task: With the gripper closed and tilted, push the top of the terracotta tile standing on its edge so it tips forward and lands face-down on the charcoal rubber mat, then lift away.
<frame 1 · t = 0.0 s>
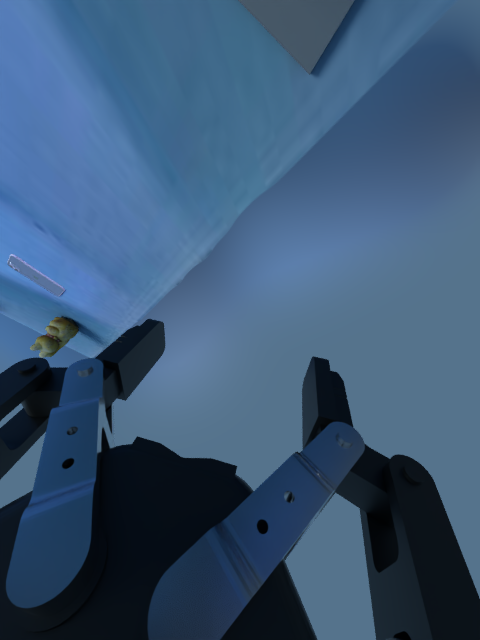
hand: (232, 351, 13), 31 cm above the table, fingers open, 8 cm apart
decorative figurine: (71, 321, 90), on the table
mobile phone: (38, 275, 71), on the table
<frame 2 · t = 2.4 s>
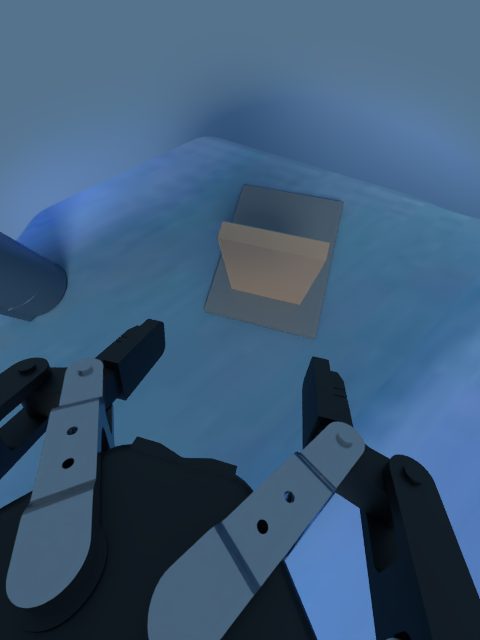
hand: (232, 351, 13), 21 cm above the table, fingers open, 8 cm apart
tile: (266, 290, 34), point 1 cm above the table, touching mat
mat: (275, 256, 36), on the table
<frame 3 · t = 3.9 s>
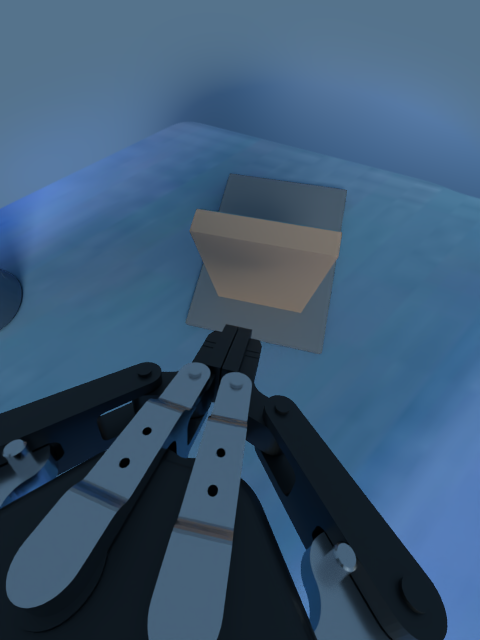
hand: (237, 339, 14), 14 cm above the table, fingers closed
tile: (260, 297, 28), point 1 cm above the table, touching mat
mat: (270, 256, 31), on the table
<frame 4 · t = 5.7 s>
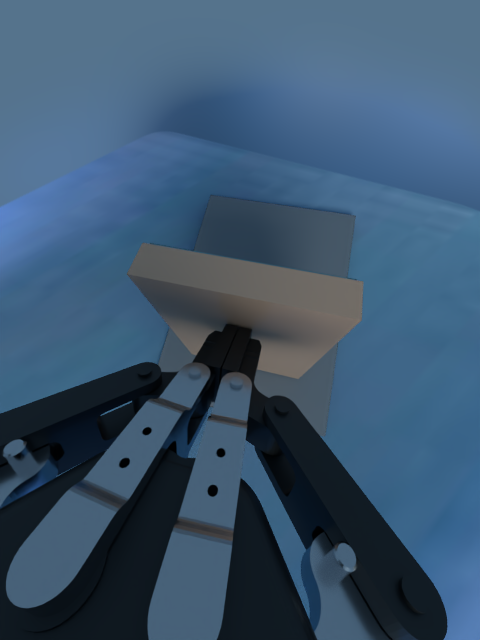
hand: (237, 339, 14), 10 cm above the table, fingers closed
tile: (245, 356, 22), point 1 cm above the table, tilted 9°, touching mat
mat: (259, 300, 24), on the table
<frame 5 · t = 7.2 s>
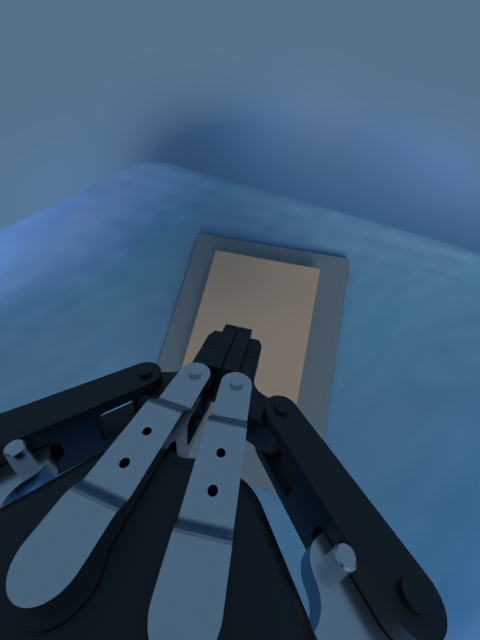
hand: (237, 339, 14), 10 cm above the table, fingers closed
tile: (234, 399, 20), point 2 cm above the table, tilted 90°, touching mat
mat: (248, 348, 23), on the table
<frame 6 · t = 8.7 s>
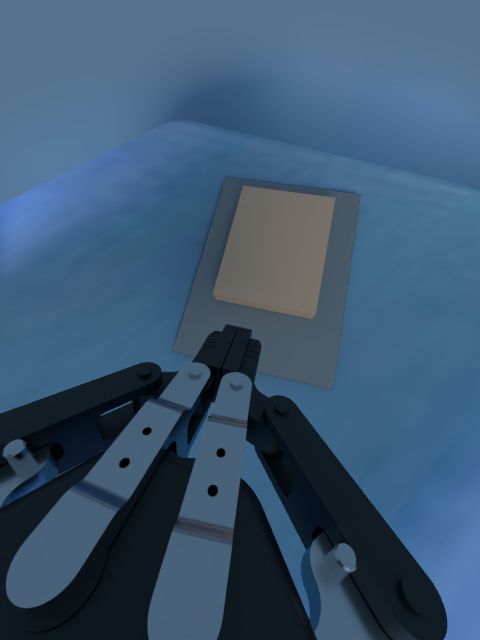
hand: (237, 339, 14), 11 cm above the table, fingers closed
tile: (262, 306, 24), point 2 cm above the table, tilted 90°, touching mat
mat: (271, 271, 27), on the table
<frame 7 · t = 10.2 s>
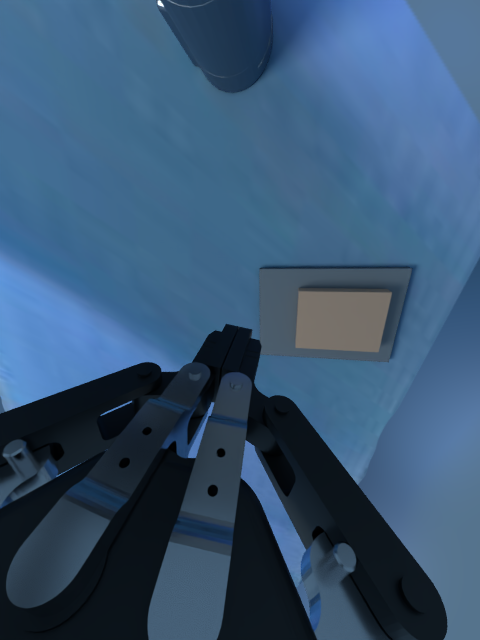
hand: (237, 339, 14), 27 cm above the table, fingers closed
tile: (296, 318, 39), point 2 cm above the table, tilted 90°, touching mat
mat: (325, 315, 40), on the table
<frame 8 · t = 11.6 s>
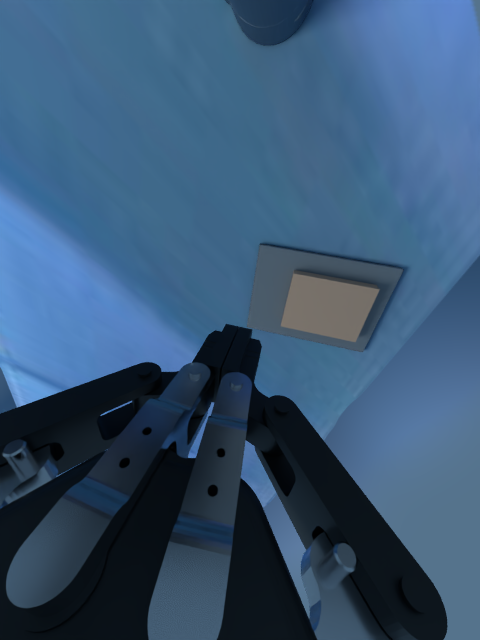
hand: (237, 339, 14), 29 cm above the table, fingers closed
tile: (286, 299, 41), point 2 cm above the table, tilted 90°, touching mat
mat: (314, 300, 42), on the table
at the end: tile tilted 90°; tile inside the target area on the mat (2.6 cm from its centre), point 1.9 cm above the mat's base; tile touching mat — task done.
